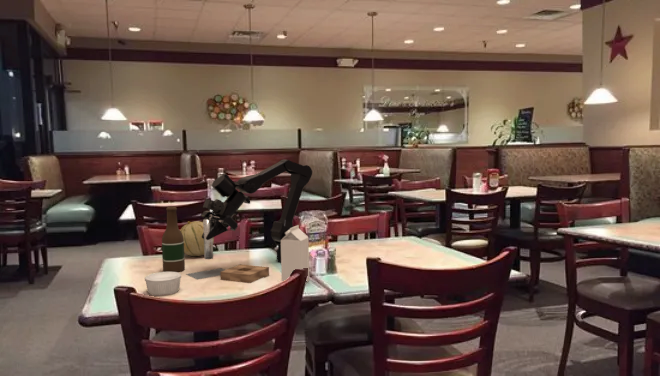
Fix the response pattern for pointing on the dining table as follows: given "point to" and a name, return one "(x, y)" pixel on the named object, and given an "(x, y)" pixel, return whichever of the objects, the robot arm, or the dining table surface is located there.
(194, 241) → the cantaloupe
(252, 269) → the socket block
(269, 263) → the dining table surface
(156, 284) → the ramekin
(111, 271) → the dining table surface
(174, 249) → the beer bottle
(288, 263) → the milk carton
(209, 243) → the steel pin
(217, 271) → the rubber mat
